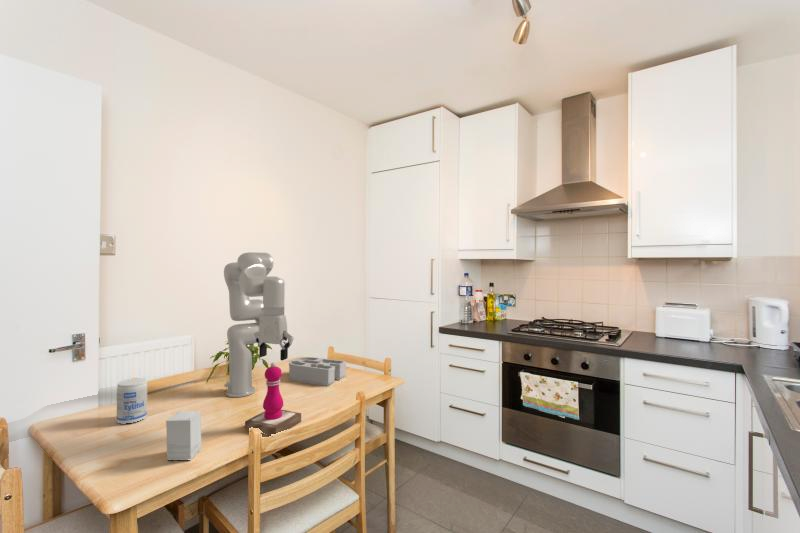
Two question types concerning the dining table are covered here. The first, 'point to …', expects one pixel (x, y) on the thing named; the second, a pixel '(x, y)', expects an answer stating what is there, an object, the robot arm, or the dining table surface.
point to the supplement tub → (131, 400)
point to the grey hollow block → (316, 370)
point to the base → (274, 422)
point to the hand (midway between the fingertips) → (273, 357)
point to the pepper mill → (273, 393)
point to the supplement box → (183, 435)
